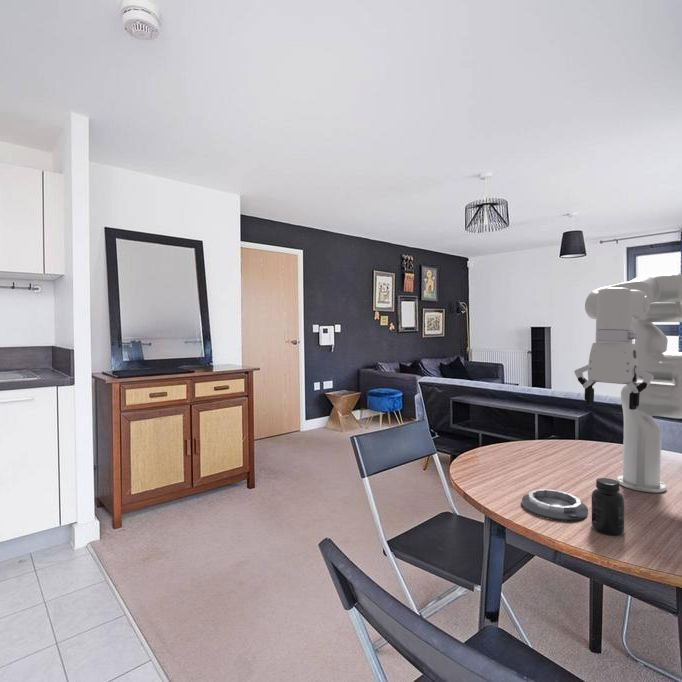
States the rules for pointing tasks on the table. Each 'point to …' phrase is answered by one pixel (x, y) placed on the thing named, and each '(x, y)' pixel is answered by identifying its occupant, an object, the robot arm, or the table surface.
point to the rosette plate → (554, 515)
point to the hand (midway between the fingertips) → (610, 406)
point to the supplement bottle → (608, 507)
